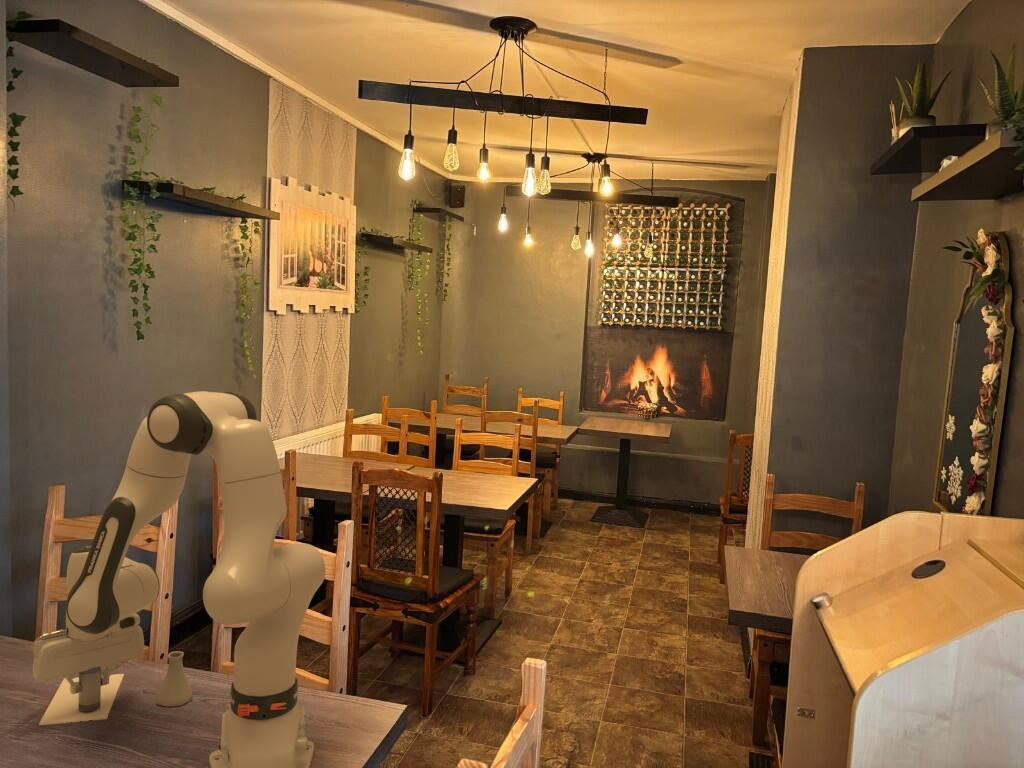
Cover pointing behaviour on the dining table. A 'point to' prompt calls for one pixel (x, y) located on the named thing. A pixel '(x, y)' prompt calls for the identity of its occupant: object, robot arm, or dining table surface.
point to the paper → (67, 703)
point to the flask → (175, 683)
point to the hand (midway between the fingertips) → (89, 688)
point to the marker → (90, 690)
